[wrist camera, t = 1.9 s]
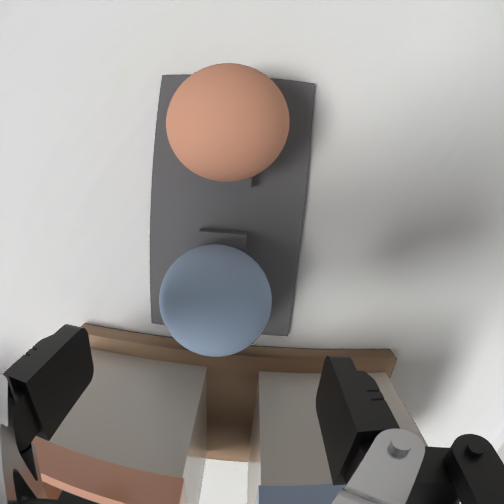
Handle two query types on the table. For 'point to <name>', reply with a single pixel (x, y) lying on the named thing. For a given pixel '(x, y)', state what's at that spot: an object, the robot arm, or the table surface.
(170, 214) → the mat
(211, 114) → the ball terracotta
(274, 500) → the tube slate
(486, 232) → the table surface
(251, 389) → the tube board
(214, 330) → the ball slate
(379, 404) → the robot arm
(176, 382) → the tube terracotta
